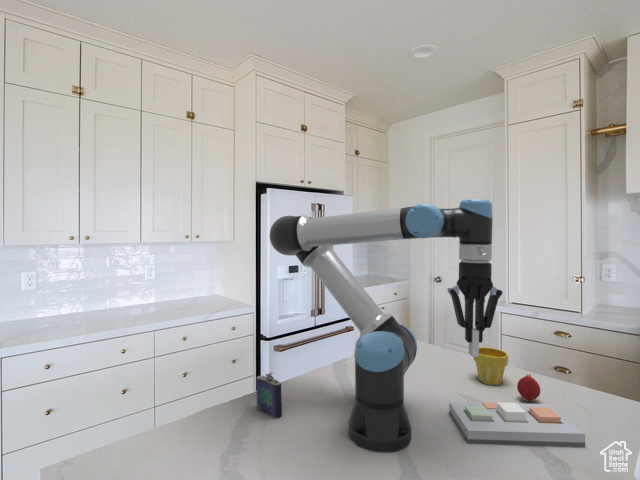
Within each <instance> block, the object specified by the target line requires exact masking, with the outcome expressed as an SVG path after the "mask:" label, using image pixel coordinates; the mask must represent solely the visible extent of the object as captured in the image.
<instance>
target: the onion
mask: <svg viewBox="0 0 640 480" xmlns="http://www.w3.org/2000/svg"><path fill="white" fill-rule="evenodd" d="M516 390H517V392H518V393H519V395H520V396H521V398H522V399H524V400H525V401H527V402H532V401H535V400H537V398H538V397H540V395H541V387H540V384H539V383H538V381H537V380H536V379H535V378H533V377H532V375H531V374H530V373H529V372H527V373H526V375H525V376H523V377H522V378H520V379H519V380H518V381H517V385H516Z"/></svg>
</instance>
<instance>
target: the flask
mask: <svg viewBox="0 0 640 480" xmlns="http://www.w3.org/2000/svg"><path fill="white" fill-rule="evenodd" d="M272 374H273V372H269V373H265V376H264V375H258V376H256V377H255V378H256V380H255V385H256V392H255V393H256V401H255V402H256V406H255V407H256V410H257V411H259V412H262V413H263V414H266V415H268V416H271V417H272V418H274V419H281V418H282V416H283V409H282V408H283V406H282V382H280V381H278V379H275V377H274V376H272ZM280 417H281V418H280Z"/></svg>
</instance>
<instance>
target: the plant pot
mask: <svg viewBox="0 0 640 480" xmlns="http://www.w3.org/2000/svg"><path fill="white" fill-rule="evenodd" d="M473 361H474V362H475V366H476V369H477V376H478V380H479V381H480V382H482V383H483V384H486V385H491V386H499V385H501V384H502V382H503V376H504V375H505V374H504V373H505V370H506V367H507V366H508V364H509V354H508V352H506V351H505V350H502V349H499V348H495V347H485V346H480V347H479V357H473Z"/></svg>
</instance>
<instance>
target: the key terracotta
mask: <svg viewBox="0 0 640 480" xmlns="http://www.w3.org/2000/svg"><path fill="white" fill-rule="evenodd" d="M529 414H530V415H531V416H532V417H533V418H534V419H535V420H537V421H538V422H539V423H558V424H561V417H559V416H558V415H557V414H556V413H555V412H553V411H552V410H551V409H550V408H540V407H529Z"/></svg>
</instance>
